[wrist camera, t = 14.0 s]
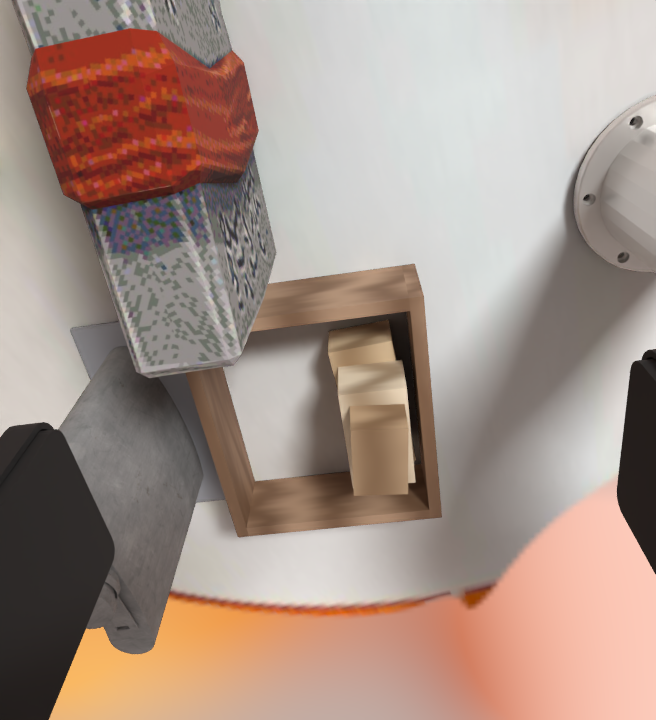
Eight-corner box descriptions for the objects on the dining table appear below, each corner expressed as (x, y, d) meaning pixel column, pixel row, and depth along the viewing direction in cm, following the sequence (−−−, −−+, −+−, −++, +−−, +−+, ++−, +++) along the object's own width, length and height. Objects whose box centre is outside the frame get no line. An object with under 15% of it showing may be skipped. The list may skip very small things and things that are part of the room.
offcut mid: (402, 359, 47) (406, 387, 44) (410, 450, 51) (415, 482, 48) (338, 367, 47) (337, 395, 44) (352, 456, 52) (352, 488, 48)
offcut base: (388, 317, 50) (391, 340, 46) (411, 432, 55) (416, 460, 52) (328, 329, 50) (327, 353, 47) (358, 441, 56) (359, 470, 53)
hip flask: (100, 351, 51) (-23, 529, 34) (144, 339, 50) (41, 515, 33) (178, 488, 58) (109, 691, 41) (217, 480, 58) (164, 682, 41)
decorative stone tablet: (255, 378, 29) (-5, -618, 16) (124, 397, 29) (-223, -543, 17) (290, 262, 46) (179, -258, 34) (208, 276, 47) (69, -228, 34)
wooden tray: (414, 263, 47) (423, 296, 42) (432, 470, 57) (441, 517, 52) (189, 294, 48) (171, 329, 43) (247, 490, 59) (238, 537, 54)
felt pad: (176, 313, 49) (175, 316, 49) (233, 495, 59) (232, 498, 59) (71, 327, 50) (70, 330, 50) (145, 504, 60) (144, 507, 60)
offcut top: (404, 404, 44) (408, 428, 42) (404, 467, 47) (408, 494, 45) (349, 406, 44) (350, 430, 42) (353, 469, 47) (353, 495, 45)
